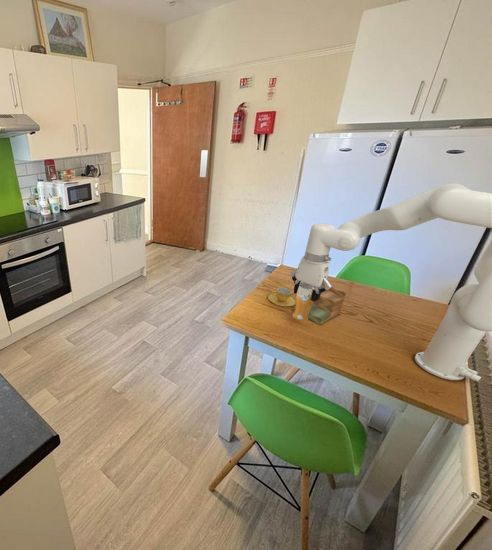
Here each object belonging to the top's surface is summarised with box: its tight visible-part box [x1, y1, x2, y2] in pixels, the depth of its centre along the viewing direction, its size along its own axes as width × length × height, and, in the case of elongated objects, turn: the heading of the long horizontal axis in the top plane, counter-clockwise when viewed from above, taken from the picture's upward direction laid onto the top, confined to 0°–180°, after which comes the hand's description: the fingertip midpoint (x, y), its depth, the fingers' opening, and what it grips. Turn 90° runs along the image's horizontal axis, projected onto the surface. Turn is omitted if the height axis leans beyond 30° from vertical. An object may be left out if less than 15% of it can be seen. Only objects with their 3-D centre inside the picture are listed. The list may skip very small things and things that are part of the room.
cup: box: [267, 286, 295, 307], centre depth 142 cm, size 12×12×5 cm
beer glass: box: [291, 281, 316, 322], centre depth 121 cm, size 7×7×15 cm
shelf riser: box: [292, 284, 348, 326], centre depth 131 cm, size 12×15×11 cm
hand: (305, 296), depth 120 cm, fingers closed on beer glass, 7 cm apart
